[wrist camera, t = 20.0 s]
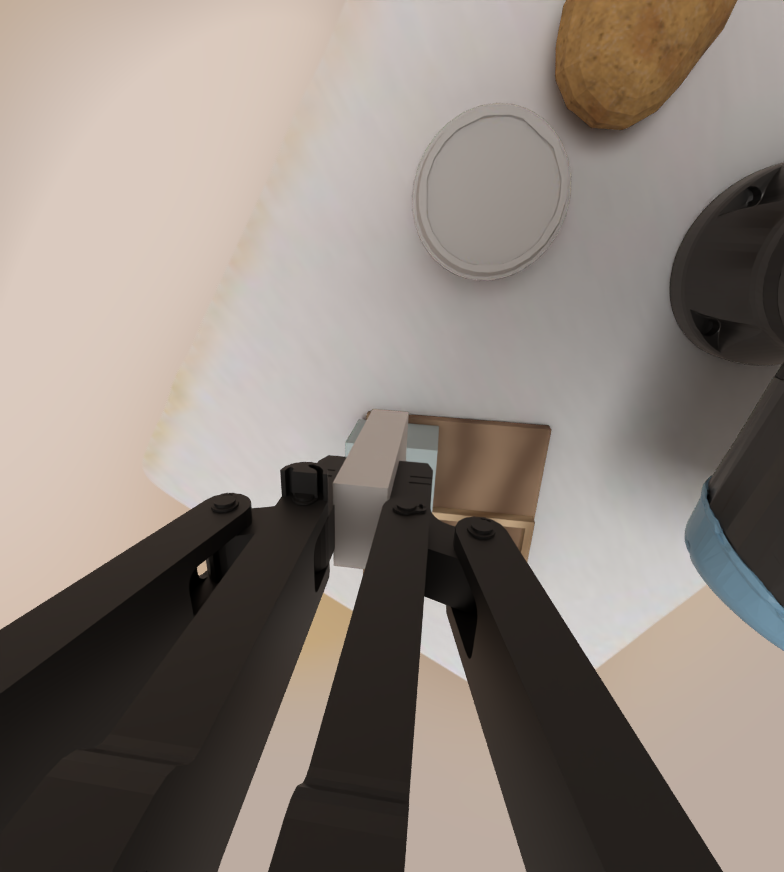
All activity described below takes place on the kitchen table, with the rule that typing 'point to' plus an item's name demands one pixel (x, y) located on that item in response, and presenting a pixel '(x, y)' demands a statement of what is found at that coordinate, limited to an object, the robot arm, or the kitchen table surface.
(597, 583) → the kitchen table surface
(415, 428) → the pale blue block
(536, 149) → the disposable coffee cup
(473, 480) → the board
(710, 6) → the potato
